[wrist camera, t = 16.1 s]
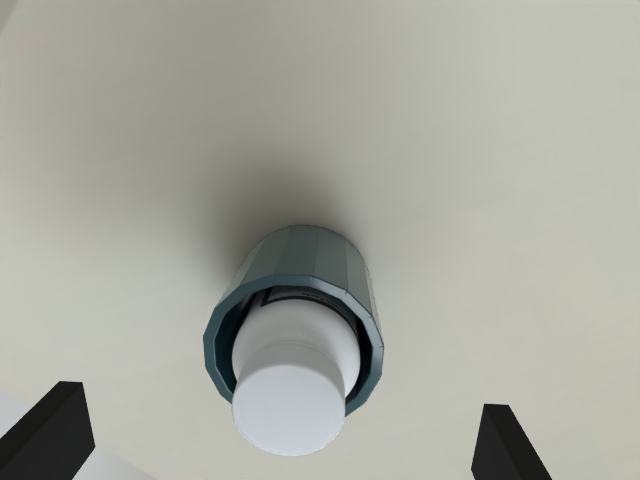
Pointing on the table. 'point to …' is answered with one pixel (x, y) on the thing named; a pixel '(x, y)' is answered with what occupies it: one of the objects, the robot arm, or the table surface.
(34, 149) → the table surface
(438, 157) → the table surface
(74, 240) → the table surface
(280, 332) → the pill bottle
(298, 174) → the table surface
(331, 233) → the cup
